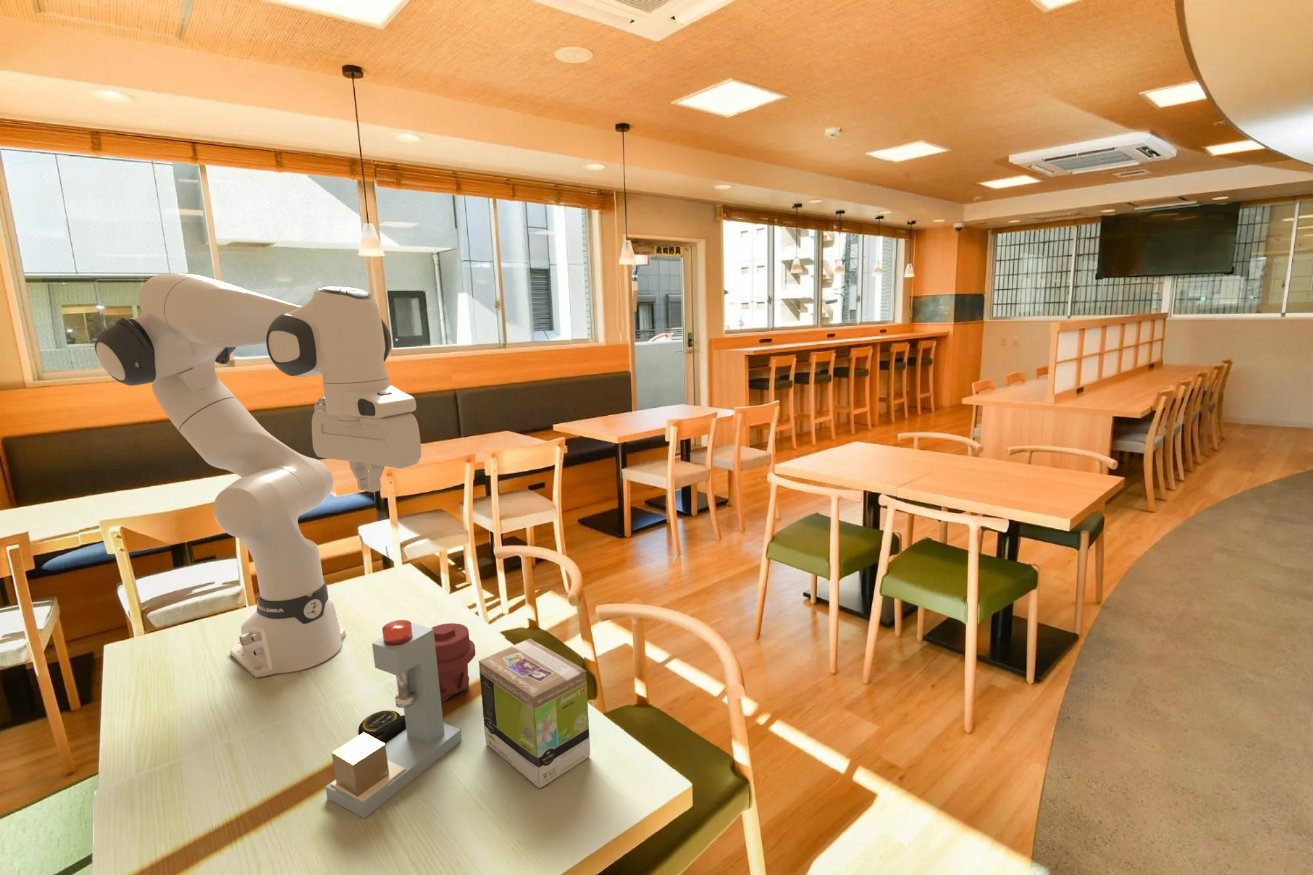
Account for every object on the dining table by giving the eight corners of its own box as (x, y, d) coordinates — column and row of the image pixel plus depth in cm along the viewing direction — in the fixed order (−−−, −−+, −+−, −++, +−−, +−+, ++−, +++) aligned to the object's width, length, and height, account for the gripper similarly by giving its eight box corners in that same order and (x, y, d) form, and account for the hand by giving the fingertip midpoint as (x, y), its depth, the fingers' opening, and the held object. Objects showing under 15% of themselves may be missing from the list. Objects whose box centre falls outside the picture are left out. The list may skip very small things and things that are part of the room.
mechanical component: (488, 678, 121) (462, 710, 112) (439, 673, 123) (409, 705, 114) (482, 617, 119) (455, 645, 109) (432, 613, 121) (401, 640, 111)
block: (336, 783, 92) (331, 752, 91) (368, 762, 96) (363, 732, 95) (357, 796, 89) (352, 764, 88) (389, 774, 94) (385, 743, 93)
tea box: (593, 756, 100) (588, 668, 97) (539, 791, 93) (532, 698, 90) (536, 715, 110) (530, 635, 107) (483, 744, 103) (475, 659, 100)
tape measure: (379, 761, 100) (377, 740, 99) (350, 748, 103) (347, 727, 102) (415, 735, 106) (412, 714, 105) (386, 723, 109) (383, 703, 108)
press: (327, 798, 92) (307, 671, 88) (426, 726, 108) (414, 614, 104) (364, 818, 89) (346, 686, 85) (461, 740, 104) (450, 625, 100)
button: (385, 705, 98) (376, 629, 95) (407, 691, 101) (398, 617, 99) (404, 713, 96) (394, 635, 93) (425, 698, 99) (417, 623, 97)
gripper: (294, 399, 98) (307, 488, 101) (387, 406, 88) (398, 504, 91) (332, 393, 103) (344, 478, 106) (424, 399, 93) (433, 492, 96)
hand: (369, 490), depth 98 cm, fingers closed
